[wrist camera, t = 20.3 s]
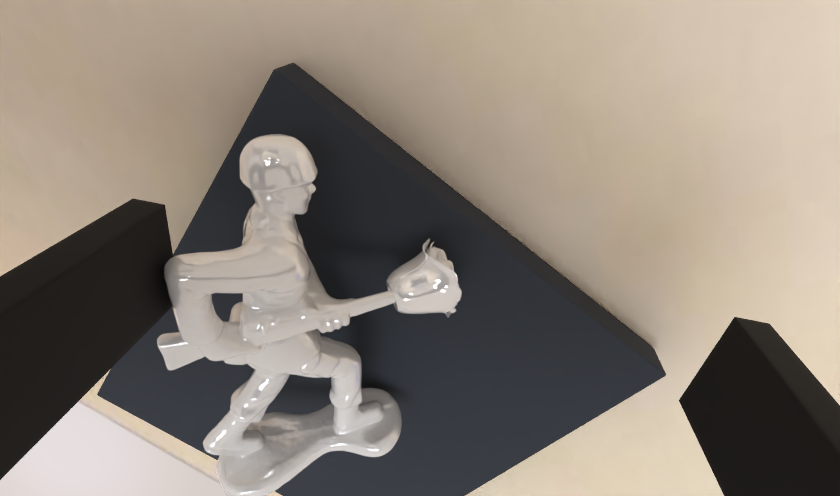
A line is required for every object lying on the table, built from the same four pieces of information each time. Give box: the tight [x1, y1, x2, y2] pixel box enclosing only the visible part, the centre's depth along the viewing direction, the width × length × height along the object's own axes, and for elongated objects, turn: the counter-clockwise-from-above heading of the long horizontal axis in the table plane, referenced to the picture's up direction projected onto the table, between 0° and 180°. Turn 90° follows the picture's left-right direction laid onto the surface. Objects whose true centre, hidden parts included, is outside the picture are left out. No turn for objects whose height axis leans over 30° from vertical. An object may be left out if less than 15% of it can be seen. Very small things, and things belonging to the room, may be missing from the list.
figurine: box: [157, 134, 462, 496], centre depth 14 cm, size 5×9×12 cm
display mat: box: [97, 63, 666, 496], centre depth 20 cm, size 17×19×2 cm
